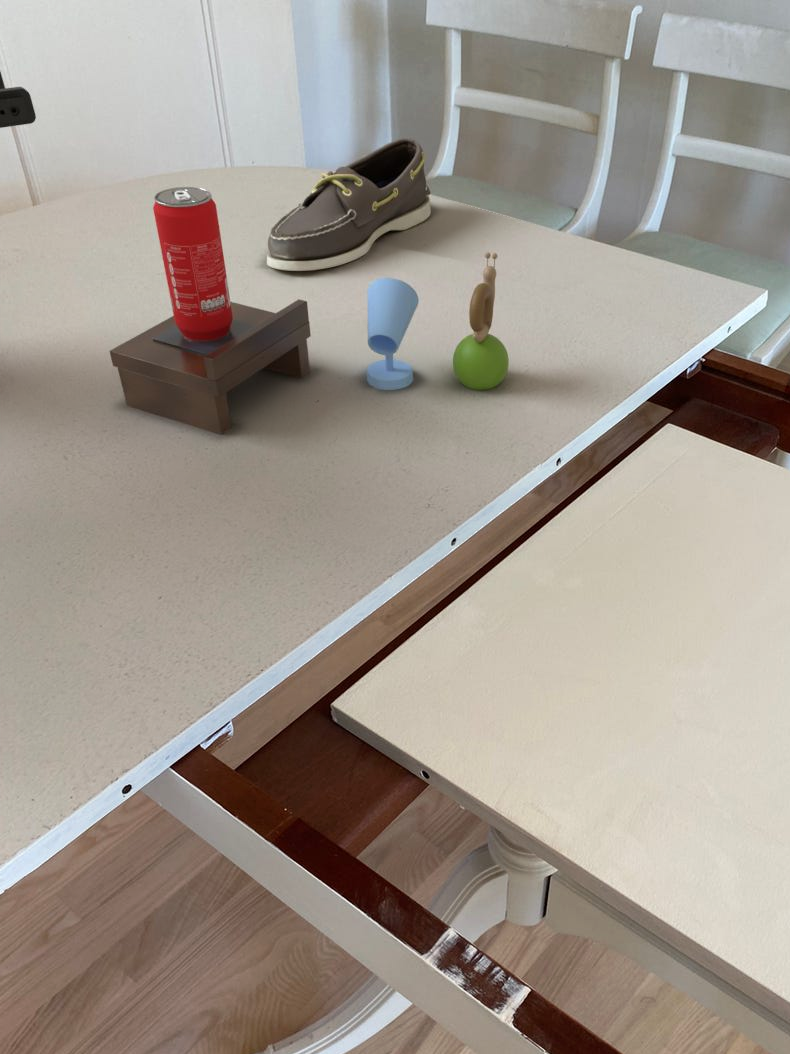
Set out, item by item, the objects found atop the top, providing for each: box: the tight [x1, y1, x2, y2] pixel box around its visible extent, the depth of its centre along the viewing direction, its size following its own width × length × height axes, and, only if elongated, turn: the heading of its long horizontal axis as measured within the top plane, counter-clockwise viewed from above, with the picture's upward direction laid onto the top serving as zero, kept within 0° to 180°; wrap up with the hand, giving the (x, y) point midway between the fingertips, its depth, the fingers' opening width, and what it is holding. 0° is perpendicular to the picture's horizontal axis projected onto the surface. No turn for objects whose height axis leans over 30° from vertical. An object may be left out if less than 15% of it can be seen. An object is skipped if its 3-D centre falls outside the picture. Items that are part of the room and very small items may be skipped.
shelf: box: [109, 299, 311, 436], centre depth 91 cm, size 12×14×8 cm
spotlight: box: [366, 277, 419, 391], centre depth 93 cm, size 5×10×7 cm
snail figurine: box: [452, 251, 510, 391], centre depth 92 cm, size 5×6×12 cm
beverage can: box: [152, 186, 233, 342], centre depth 86 cm, size 5×5×12 cm
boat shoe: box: [266, 137, 431, 272], centre depth 122 cm, size 11×31×9 cm, turn 149°
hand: (16, 90), depth 71 cm, fingers open, 8 cm apart
